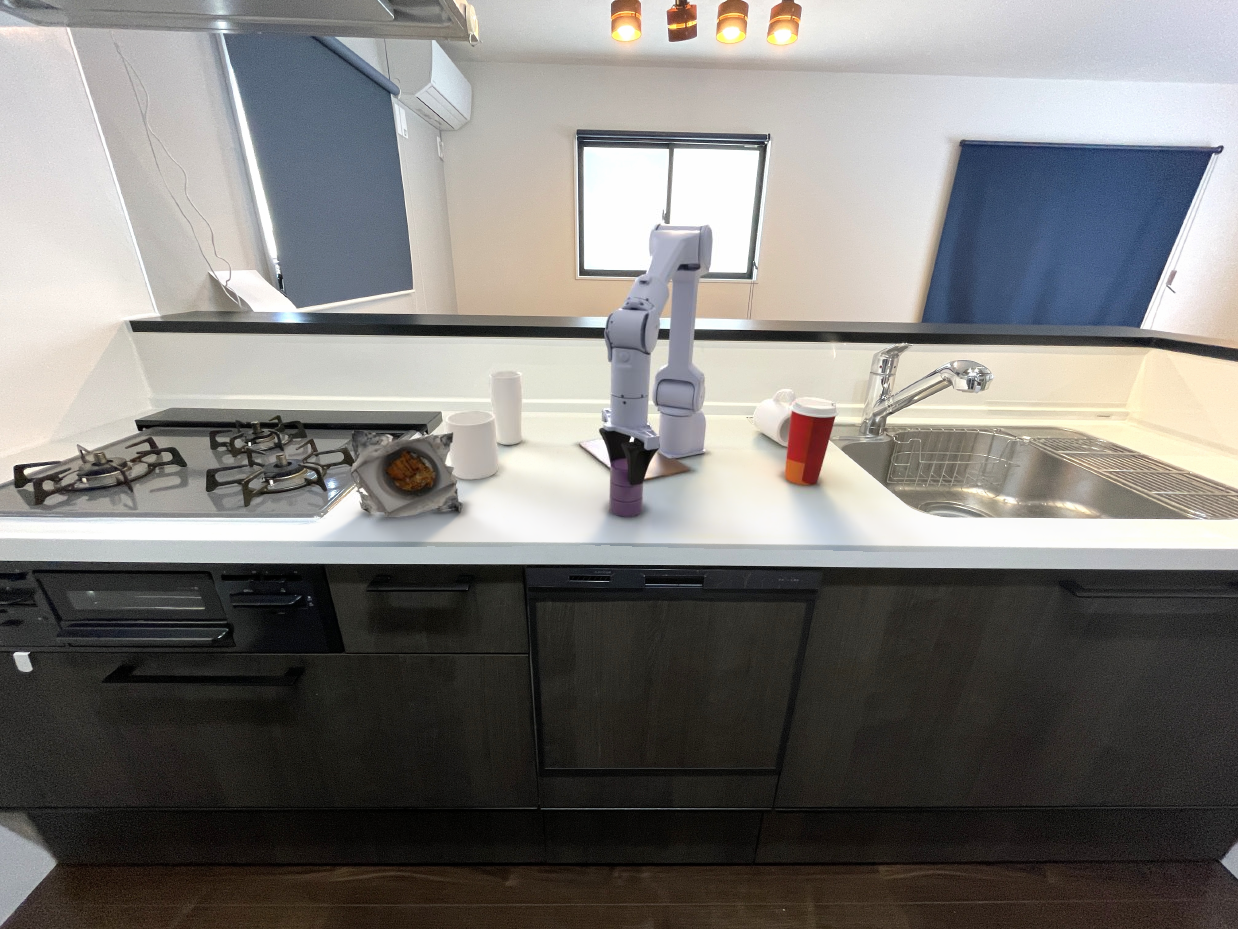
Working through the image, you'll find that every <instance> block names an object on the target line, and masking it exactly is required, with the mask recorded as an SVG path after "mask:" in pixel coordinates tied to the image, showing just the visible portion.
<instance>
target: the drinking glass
mask: <svg viewBox="0 0 1238 929" xmlns="http://www.w3.org/2000/svg"><path fill="white" fill-rule="evenodd" d="M488 387H489V397H490V403H491V409H492V413H493V414H494V415H495V424H496V437H497V443H498V444H500V445H504V446H512V445H513V446H514V445H517V444H519V443H521V441H522V440H523V435H522V433H523V432H522V429H523V428H522V427H523V426H522V425H523V395H524V394H523V393H524V392H523V377H522V373H521V372H520V371H517V370H495V371H491V372H489V373H488Z"/></svg>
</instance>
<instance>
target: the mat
mask: <svg viewBox="0 0 1238 929" xmlns="http://www.w3.org/2000/svg"><path fill="white" fill-rule="evenodd" d="M630 442H634V438H633V437H631V439H630ZM578 446H580V447H581V448H583V449H584V450H585V451H586V452H588V454H590V455H591V456H592V457H594V458H595V459H597V461H598V462H600V463H601V464H603V465H604V466H605V467H606V468H607V469H609V470H610V460H609V456H608V452H607V448H606V445H605V443H604V440H603V438H600V439H595V440H589V441H588V440H587V441H583V442H578ZM691 471H692V469H691V468H690V467H688V466H687V465H685V464H684V463H682V462H681V461H679V460H678V459H677V458H676V459H674V458H672V459H669V458H667V457H666V456H664V455H662V454H661V453H659V452H658V451H657V452H656V453H655V455H654V456H653V458H652V460H651V462H650V464H649V466H648V469H647V472H646V475H645V478H644V481H643V482H645V481H650V480H653V479H659V478H663V477H668V476H673V475H678V474H683V473H686V472H687V473H688V472H691Z"/></svg>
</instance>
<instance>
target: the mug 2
mask: <svg viewBox="0 0 1238 929" xmlns="http://www.w3.org/2000/svg"><path fill="white" fill-rule="evenodd" d="M784 395H785V396H786V398H787V404H786V403H785V402H782V401H780V400H781V398H782V397H784ZM795 399H797V397H796V394H795V392H794V390H792V389H790V388H784V389H780V390H779V391H777V392H776V393H775V394H774V395H773V396H772V398H767V399H765V400H762V402H760V403H759V404H758V405H757V406H756V408H755V410H754V412H753V414H752V423H753V426H754V428H755V429H756V430H757V431H758V432H761V433H762V434H763V435H765V436H766V437H768V438H770V439H771V440H773V441H775V442H776V443H777V444H779V445H781V446H782V447H788V438H789V429H790V420H791V411H792V410H790V409H789V406H791V405H792V402H794V401H795Z"/></svg>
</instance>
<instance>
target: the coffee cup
mask: <svg viewBox="0 0 1238 929" xmlns="http://www.w3.org/2000/svg"><path fill="white" fill-rule="evenodd" d="M789 409H790V410H792V411H791V420H790V429H789V438H788V447H787V449H786V458H785V467H784V478H785V479H786V481H788V482H790V483H792V484H795V485H800V486H814V485H816V484H817V483H818V481H819V478H820V476H821V475H820V474H821V471H822V467H823V464H824V460H825V457H826V453H827V449H828V445H829V442H830V438H831V434H832V431H833V428H834V424H835V421H836V416H838V415H839V411H838V407H837V405H836V402H834V401H832V400H828V399H824V398H821V397H813V396H812V397H811V396H807V397H806V396H805V397H804V396H803V397H798V398H797V397H796V399H795V401H794V402H792V405H791V406H789Z"/></svg>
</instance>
